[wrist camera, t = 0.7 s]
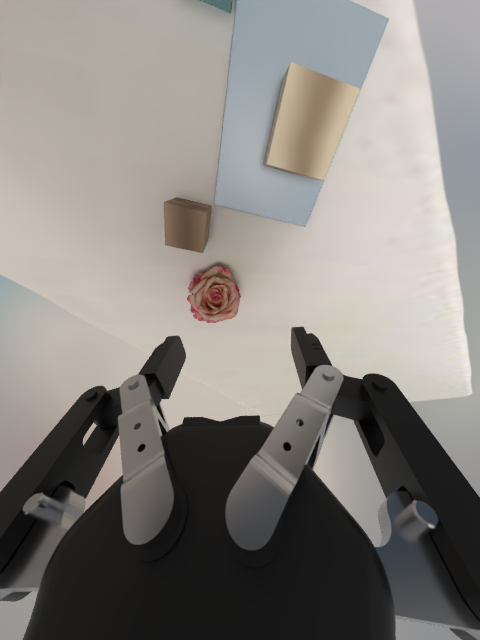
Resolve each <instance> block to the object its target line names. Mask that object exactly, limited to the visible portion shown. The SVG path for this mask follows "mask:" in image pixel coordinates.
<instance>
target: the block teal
mask: <svg viewBox="0 0 480 640" xmlns="http://www.w3.org/2000/svg"><path fill="white" fill-rule="evenodd" d="M200 1H203V2H205V3H208V4H210V5H213V6H215V7H217V8H220V9H222V10H225V11H227V12H230V13H231V10H232V0H200Z"/></svg>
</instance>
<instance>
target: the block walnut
mask: <svg viewBox="0 0 480 640" xmlns="http://www.w3.org/2000/svg"><path fill="white" fill-rule="evenodd" d="M210 214H211V206H209V205H205V204H201V203H197V202H193V201H189V200H185V199H181V198H174V199H171V200H169V201H166V202H164V218H165V245H167V246H172V247H176V248H181V249H186V250H191V251H196V252H201V253H203V251H204V249H205V246H206V244H207V241H208V234H209V224H210Z"/></svg>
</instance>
